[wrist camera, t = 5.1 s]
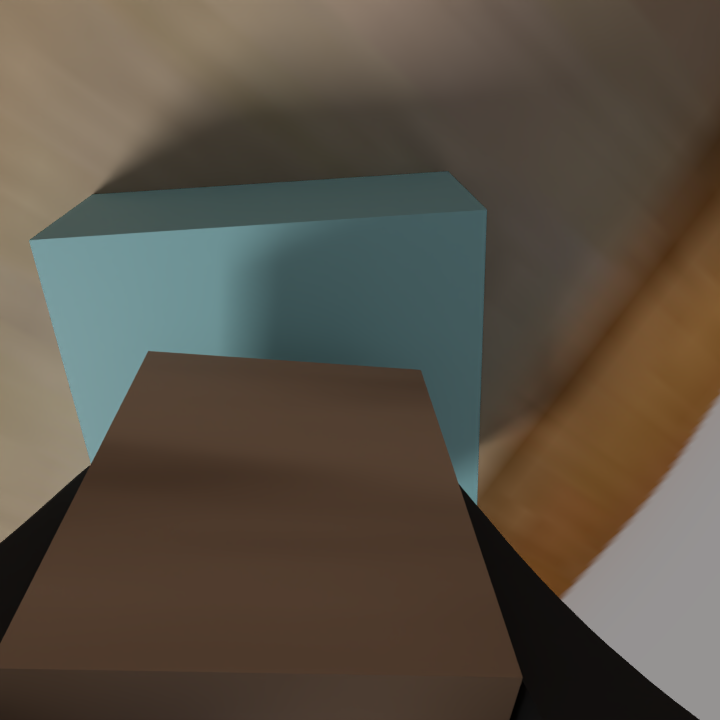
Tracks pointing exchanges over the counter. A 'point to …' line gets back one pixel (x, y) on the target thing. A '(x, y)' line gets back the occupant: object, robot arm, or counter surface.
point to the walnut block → (263, 559)
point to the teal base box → (275, 287)
